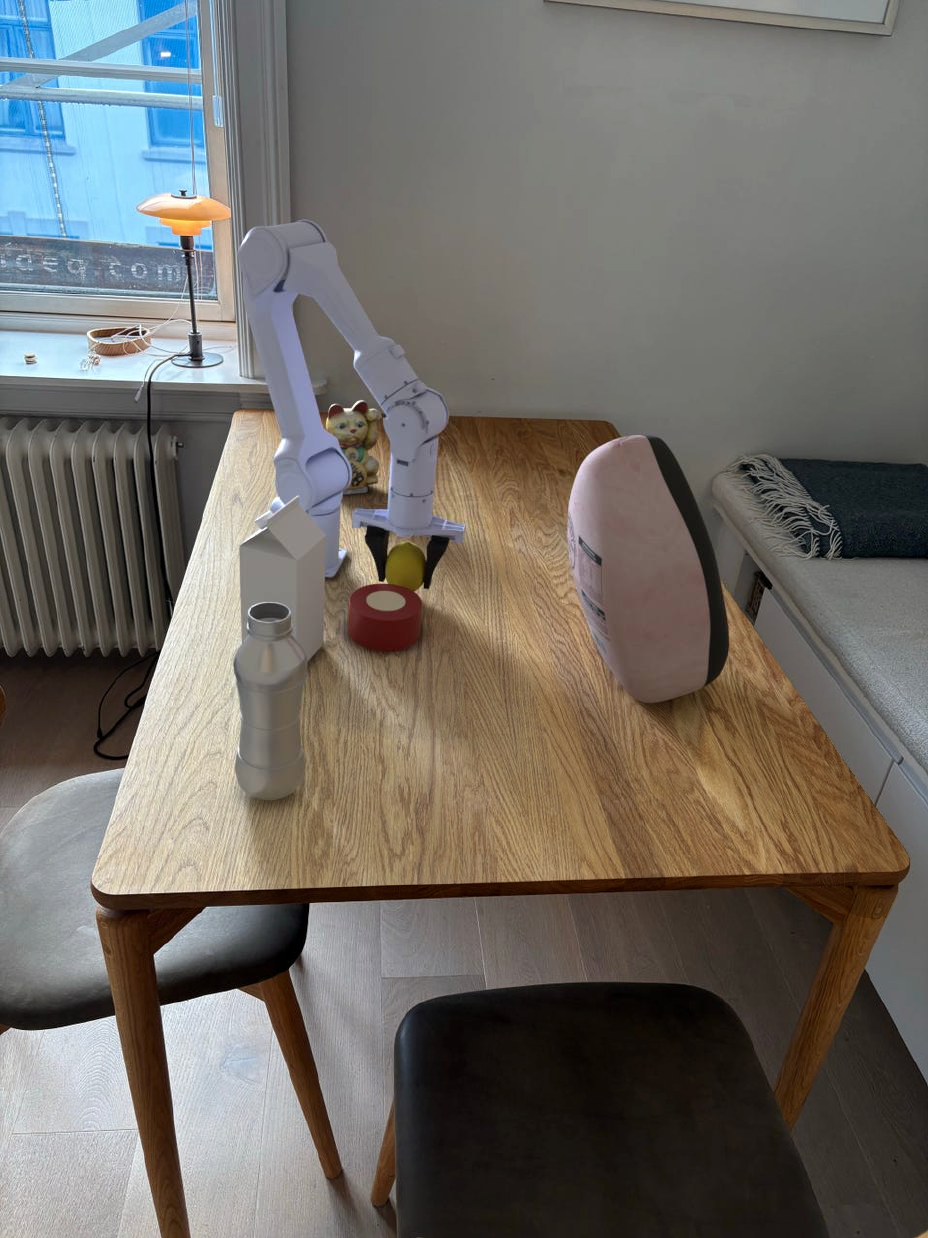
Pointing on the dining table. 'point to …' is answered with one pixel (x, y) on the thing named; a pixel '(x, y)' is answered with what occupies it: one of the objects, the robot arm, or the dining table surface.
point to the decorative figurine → (356, 441)
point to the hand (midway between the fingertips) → (404, 581)
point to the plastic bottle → (270, 704)
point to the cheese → (384, 617)
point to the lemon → (406, 566)
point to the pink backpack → (646, 570)
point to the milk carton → (286, 571)
